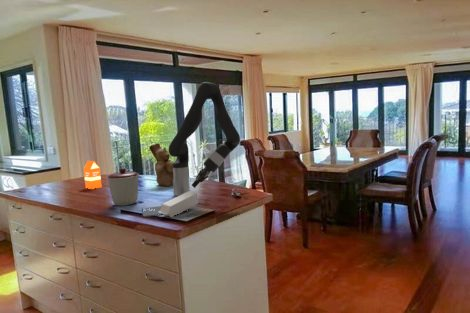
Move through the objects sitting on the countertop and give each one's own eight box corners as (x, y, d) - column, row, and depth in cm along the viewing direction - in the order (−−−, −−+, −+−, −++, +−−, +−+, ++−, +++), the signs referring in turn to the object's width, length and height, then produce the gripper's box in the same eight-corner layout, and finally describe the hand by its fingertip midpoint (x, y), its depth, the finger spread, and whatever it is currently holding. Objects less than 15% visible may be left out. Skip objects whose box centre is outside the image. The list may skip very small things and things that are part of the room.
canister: (116, 200, 213) (112, 166, 210) (145, 199, 212) (142, 164, 210) (104, 208, 195) (100, 171, 192) (136, 207, 194) (132, 169, 192)
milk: (189, 190, 186) (156, 205, 169) (197, 193, 182) (165, 208, 166) (190, 201, 187) (158, 217, 171) (198, 203, 184) (166, 220, 167)
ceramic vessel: (168, 187, 245) (165, 144, 241) (146, 185, 256) (142, 144, 253) (183, 183, 258) (180, 142, 254) (162, 181, 270) (158, 142, 266)
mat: (143, 217, 173) (143, 216, 173) (141, 209, 188) (141, 208, 188) (189, 211, 179) (189, 209, 179) (184, 204, 194) (184, 203, 194)
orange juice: (95, 186, 265) (92, 160, 263) (101, 187, 260) (99, 160, 258) (85, 188, 259) (82, 161, 257) (92, 189, 254) (89, 161, 252)
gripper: (206, 156, 194) (185, 180, 192) (211, 158, 181) (189, 184, 179) (216, 164, 196) (195, 188, 194) (222, 167, 184) (200, 193, 182)
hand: (193, 186), depth 187 cm, fingers closed
